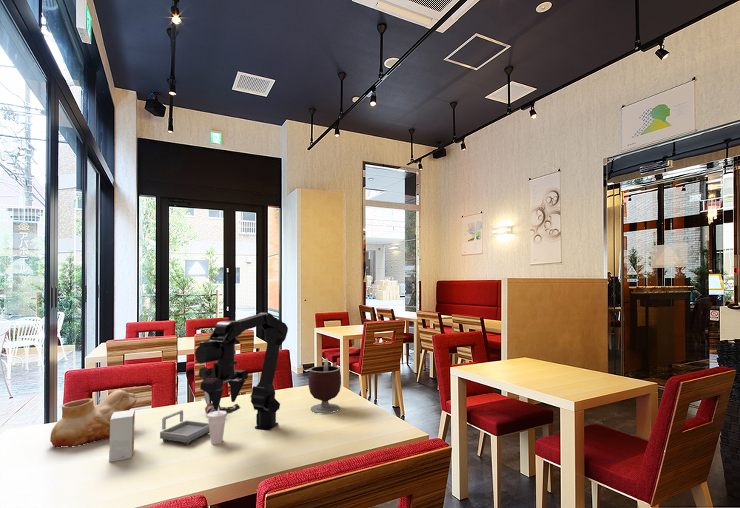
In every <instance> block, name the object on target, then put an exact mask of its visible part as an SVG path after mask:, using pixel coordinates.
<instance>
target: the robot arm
mask: <svg viewBox="0 0 740 508" xmlns="http://www.w3.org/2000/svg"><path fill="white" fill-rule="evenodd" d="M259 326H260V328H261V329H262V330H263V331H264V339H265V341H266V343H267V344H266V349H265V353H264V358H263V364H262V369H261V374H260V379H259V382H258V383H257V385H256V386H255V385H253V386H252V387H251V394H250V397H249V398H250V403H251V405H252V407H253V410H254V411H257V412H256V418H255V419H256V420H255V421H256V423H255V424H256V425H255V426H254V429H259V430H266V431H269V430H271V429H273V428H275V427H277V426H278V425H279V422H277V412H278V411H279V410H280V408H281V407H280V406H281V403H280V402H279V401H278V400H277V399H276V390H275V387H274V379H275V374H276V369H277V364H278V357H279V352H280V348H281V345H282V344H283V343H284V341H286V337H287V336H288V335H287V334H288V331H289V327H288V326H287V324H286V323H285V322H283V321H282V320H281V319H279V318H277V317H275V316H274V315H273V314H272V313H270V312H260V313H259V312H258V314H254V315H250V316H247V317H243V318H241V319H237V320H222V321H218V322H217V323H216V324H215V326H214V329H213V331H212V332H211V334H210V336H209V337H208V339H207V341H200V342H199V345H198V346H197V347H196V349H195V352H194V357H195V358H194V359H195V360H196V362H197V363H199V364H206V363H211V362H213V365H212V367H209V368H208V367H207V366H203V367H200V368H199V370H198V377H199V378H200V379H202V381H201V382H200V384H199V389H200V390H201V391H202V392H203V393H204V392H207V393H208V394H209V396H210V398H211V403H212V404H213V407H214V409H215V410H218V407H219V405H221V404H220V403H221V400H222V395H223V391H224V389H223V386H224V383H228V384H229V386H230V387H229V388H230V389H229V390H230V400H231V403H235V402H236V399H237V397H238V395H240V394H239V393H240V392H241V389H242V387H243V385H244V384H245V382H246V380H247V379H249V373H248V371H247V370H243V369H235V365H238V360H235V358H236V356H235V355H236V354H235V353H236V352H235V351H236V345H238V344H241V342H240V341H239V340H238V339H237V337H239V336H241V334H242V333H243V332H245V331H248V330H251V329H254V328H257V327H259Z"/></svg>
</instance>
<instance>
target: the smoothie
mask: <svg viewBox="0 0 740 508" xmlns="http://www.w3.org/2000/svg"><path fill="white" fill-rule="evenodd" d="M226 417H227V410H225V411H223V410H222V411H219V407H218V411H214V412H210V413H208V414H207V413H206V418H207V419H208V420H207V421H208V422H207V423H209V430H210V433H209V438H210V444H212V445H219V444H221V443H223V442H224V440H223V439H224V432H225V425H226V419H227V418H226Z"/></svg>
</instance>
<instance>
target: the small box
mask: <svg viewBox="0 0 740 508" xmlns="http://www.w3.org/2000/svg"><path fill="white" fill-rule="evenodd" d="M135 415H136V410H135V409H130V410H127V411H119V412H114V413H113V414H112V416H111V419H110V438H109V450H108V451H109V452H108V455H109V456H108V463H112V462H118V461H123V460H128V459H132V458H133V453H134V450H135Z"/></svg>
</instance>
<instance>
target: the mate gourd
mask: <svg viewBox="0 0 740 508" xmlns="http://www.w3.org/2000/svg"><path fill="white" fill-rule="evenodd" d="M340 368H341V367H339V366H338V365H337V366H336V365H329V358H328V357H326V358H325V361H324V363H323V365H317V366H313V367H311V368H309V373H308V390H309V393H310V394H311V396H312V397H313V399H316V400H319V401H321V403H318V404H314V405H313V406H311V407H310V411H312V413H313V412H314V413H313V414H317V413H329V412H333V411H337V410H338V409H339V410H340V405H339V404H336V403H330V402H329V401H330V400H332V399H335V398H336V397H337V396H338V395H339V393H340V391H341V387H342V376H341V375H342V374H341V369H340ZM339 410H338V411H339ZM338 411H337V412H338Z"/></svg>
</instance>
